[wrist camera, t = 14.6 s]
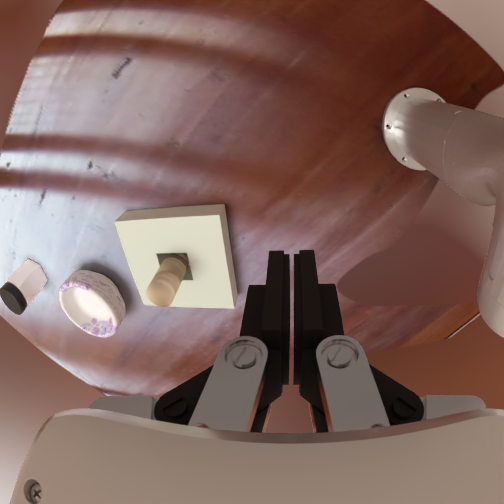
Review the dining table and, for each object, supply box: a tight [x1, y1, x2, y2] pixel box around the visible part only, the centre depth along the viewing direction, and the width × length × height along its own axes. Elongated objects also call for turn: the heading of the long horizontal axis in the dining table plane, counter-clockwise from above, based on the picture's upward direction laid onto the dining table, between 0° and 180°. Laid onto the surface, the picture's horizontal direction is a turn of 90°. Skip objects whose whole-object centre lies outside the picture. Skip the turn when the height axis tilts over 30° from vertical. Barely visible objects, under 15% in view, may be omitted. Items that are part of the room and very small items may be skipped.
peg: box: [146, 253, 189, 307], centre depth 45 cm, size 4×4×12 cm
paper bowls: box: [59, 270, 126, 337], centre depth 55 cm, size 15×15×8 cm
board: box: [115, 204, 238, 308], centre depth 49 cm, size 18×18×4 cm
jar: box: [0, 259, 48, 315], centre depth 54 cm, size 9×8×12 cm
